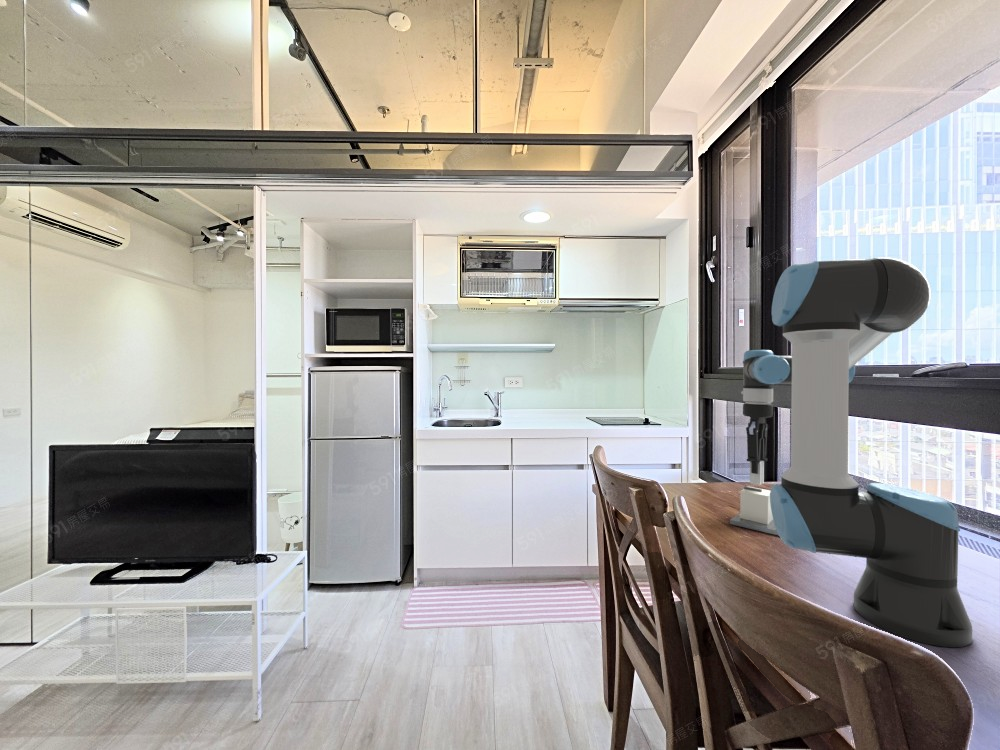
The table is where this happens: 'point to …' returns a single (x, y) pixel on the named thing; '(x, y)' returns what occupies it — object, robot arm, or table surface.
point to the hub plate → (754, 525)
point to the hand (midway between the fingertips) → (756, 483)
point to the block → (755, 505)
